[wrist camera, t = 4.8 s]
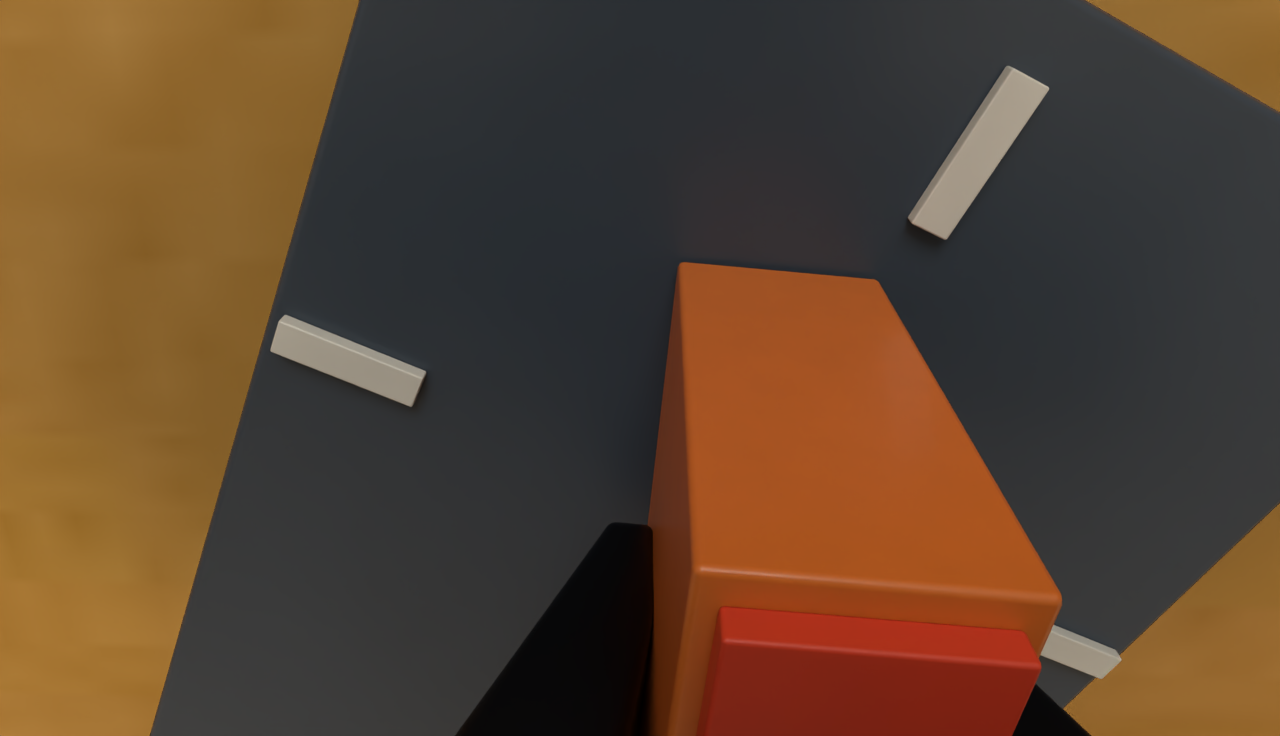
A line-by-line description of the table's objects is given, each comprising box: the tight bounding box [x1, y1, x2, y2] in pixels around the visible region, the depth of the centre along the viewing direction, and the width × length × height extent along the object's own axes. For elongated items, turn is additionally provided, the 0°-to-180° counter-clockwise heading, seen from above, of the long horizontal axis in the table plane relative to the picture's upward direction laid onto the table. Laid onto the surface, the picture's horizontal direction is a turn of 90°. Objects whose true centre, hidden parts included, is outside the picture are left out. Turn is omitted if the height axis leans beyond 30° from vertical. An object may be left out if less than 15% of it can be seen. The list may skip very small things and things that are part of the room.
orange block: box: [639, 262, 1062, 736], centre depth 7 cm, size 6×2×4 cm, turn 175°
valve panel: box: [150, 0, 1280, 736], centre depth 11 cm, size 13×10×3 cm
